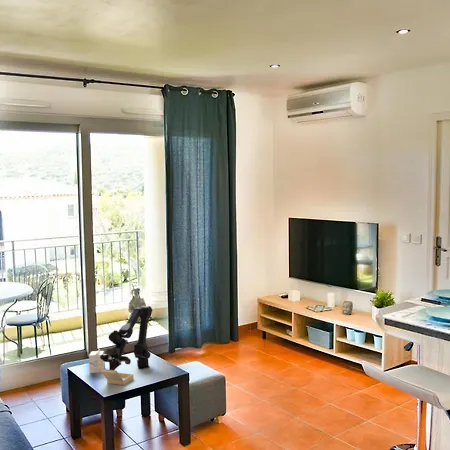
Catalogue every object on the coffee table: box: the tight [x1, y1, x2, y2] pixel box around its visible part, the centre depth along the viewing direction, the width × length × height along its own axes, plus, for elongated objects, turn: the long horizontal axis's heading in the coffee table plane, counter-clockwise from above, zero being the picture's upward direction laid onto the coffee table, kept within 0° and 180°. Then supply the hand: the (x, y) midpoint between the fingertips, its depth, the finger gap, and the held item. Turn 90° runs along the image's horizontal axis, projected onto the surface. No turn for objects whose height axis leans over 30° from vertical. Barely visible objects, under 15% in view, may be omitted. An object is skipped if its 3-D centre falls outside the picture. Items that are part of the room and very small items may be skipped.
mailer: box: [106, 371, 135, 386], centre depth 301 cm, size 10×12×3 cm
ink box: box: [88, 348, 106, 374], centre depth 321 cm, size 9×8×13 cm
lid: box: [99, 368, 123, 381], centre depth 293 cm, size 10×12×1 cm
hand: (110, 372), depth 292 cm, fingers closed, pressing on lid
